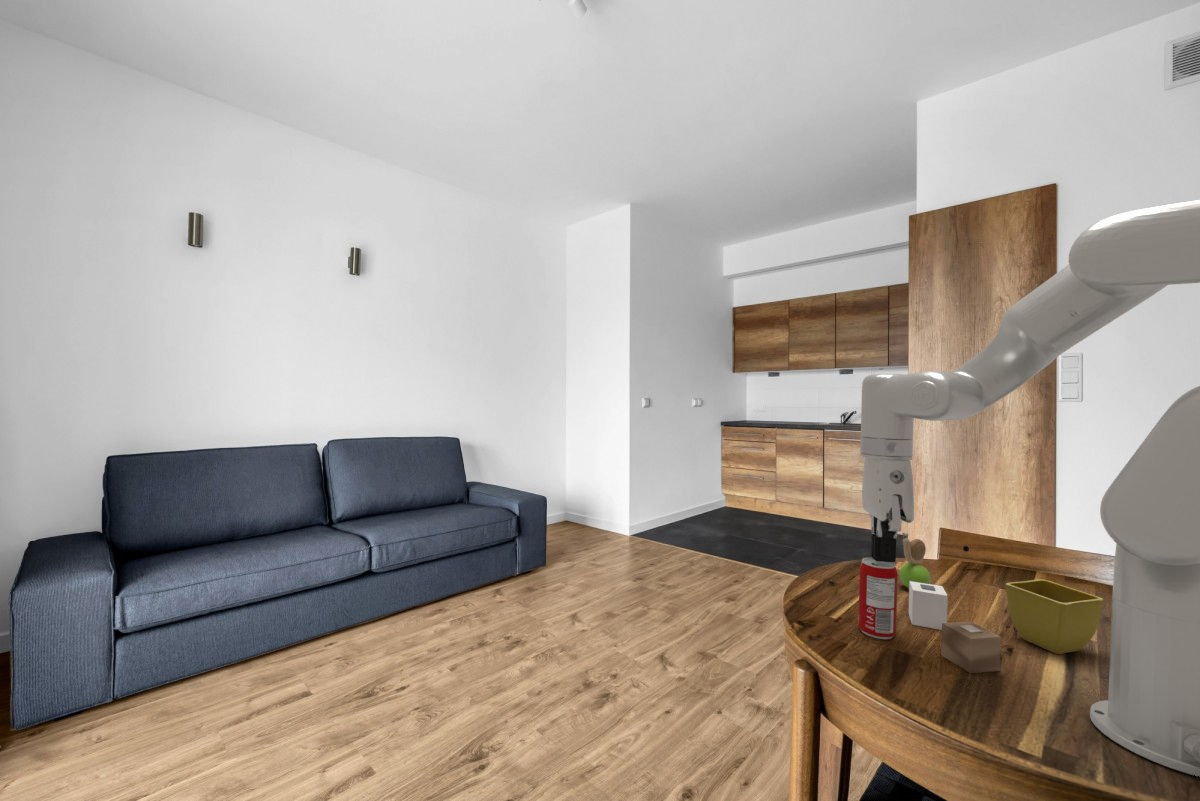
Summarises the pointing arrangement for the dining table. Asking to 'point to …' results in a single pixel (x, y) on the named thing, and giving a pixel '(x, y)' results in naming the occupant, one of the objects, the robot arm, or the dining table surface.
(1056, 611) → the flower pot
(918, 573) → the snail figurine
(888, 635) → the soda can
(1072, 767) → the dining table surface
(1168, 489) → the robot arm
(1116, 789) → the dining table surface
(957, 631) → the walnut block
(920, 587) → the white block
